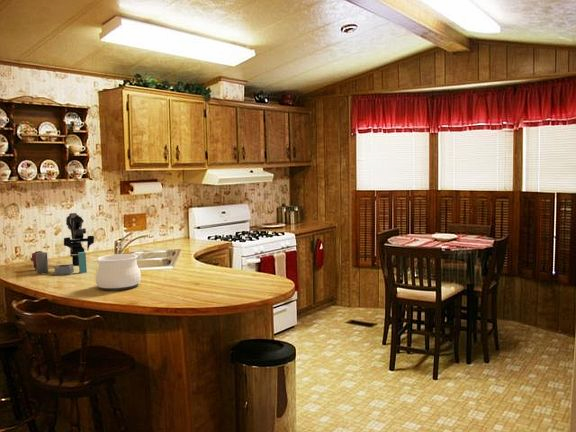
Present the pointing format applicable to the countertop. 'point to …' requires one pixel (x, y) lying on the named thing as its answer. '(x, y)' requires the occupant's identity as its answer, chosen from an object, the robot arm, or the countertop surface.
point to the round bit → (42, 262)
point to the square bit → (82, 262)
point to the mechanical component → (35, 259)
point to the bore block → (64, 269)
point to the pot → (118, 272)
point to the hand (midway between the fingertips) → (80, 250)
